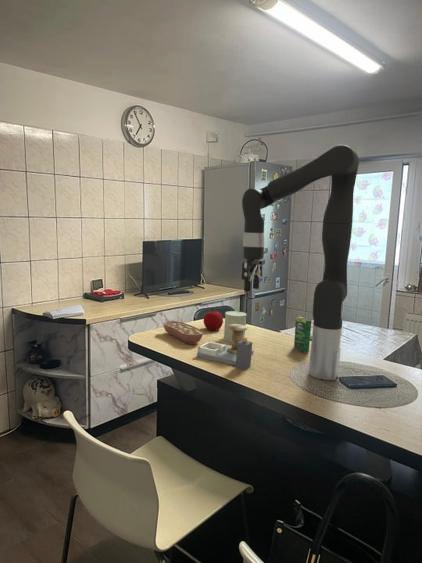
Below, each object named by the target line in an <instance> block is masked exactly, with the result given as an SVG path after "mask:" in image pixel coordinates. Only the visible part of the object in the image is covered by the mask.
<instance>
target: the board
mask: <svg viewBox="0 0 422 563" xmlns="http://www.w3.org/2000/svg"><path fill="white" fill-rule="evenodd" d="M230 346H232V344H231V345H229V344H226V343H220V342H213V341H207V342H206V343H204V344H201V345H199V346H198V347H197V352H196V357H197V358H201V359H205V360H209V361H214V362H219V363H224V364H228V365H232V366H236V354H234V353H230V352H228V351H227V348H228V347H230ZM253 355H254V349H252V353H251V356H253Z"/></svg>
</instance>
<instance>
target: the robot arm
mask: <svg viewBox="0 0 422 563" xmlns="http://www.w3.org/2000/svg"><path fill="white" fill-rule="evenodd" d="M359 161H360V159H359V156H358V153H357V152H356V151H355V150H354V149H353V148H352V147H350V146H348V145H345V144H338V145H335V146H333V147H332V148H330V149H328V150H327V151H325V152H324V153H322V154H320V155H319V156H318V157H316V158H314V159H313V160H311V161H309V162H308V163H306V164H305V165H303V166H301V167H299V168H296V169H295V170H293V171H290V172H288V173H286V174H283V175H281V176H279V177H277V178H275V179H272V180H270V181H269V182H268V184H267V185H266V186H264V187H262V188H259V189H258V188H253V187H251V188H248V189H247V190H245V191H244V193H243V195H242V200H241V204H242V205H241V206H242V212H243V213H242V214H243V218H244V229H243V230H244V231H243V239H242V240H243V242H242V258H243V259H246V262H244V261H243V262H242V264H241V265H242V266H241V269H242V270H241V280H243V282H244V284H243V285H244V287H243V291H244V292H251V289H254V290H257V289H258V290H259V289H260V279H261V277H263V263H264V262H263V260H262V259H264V257H265V256H264V255H265V219H264V217H263V216H262V215H261V212H262V211H261V210H263V209H265V208H267V207H269V206H271V205H272V204H274V203H276V202H277V201H279V200H282V199H285V198H287V197H289V196H291V195H292V196H293V194H296V193H298V192H300V191H301V190H303V189H304V188H305V187H307V186H308V185H310V184H312V183H314V182H316V181H318V180H321V179H323V178H327V177H330V178H331V186H330V187H331V188H330V194H329V197H328V202H327V204H326V207H325V210H324V214H323V219H322V227H321V228H322V229H321V243H322V250H323V256H324V271H323V277H322V280H321V281H319V282H318V284H316V287H315V288H314V293H313V304H312V317H313V318H312V320H313V325H312V333H311V334H312V336H311V342H310V344H311V346H310V353H309V354H310V355H309V363H308V364H309V366H308V375H309V376H311V377H312V378H315V379H317V380H321V379H323V381H333V380H335V381H336V380H337V378H338V375H339V368H340V359H341V358H340V357H341V348H340V346H341V338H342V328H343V319H342V310H343V302H344V301H345V300H346V298H347V295H348V262H349V261H348V260H349V254H350V247H351V242H352V240H351V239H352V232H353V217H354V216H353V215H354V193H355V186H356V179H357V175H358V170H359V166H360V165H359V164H360V162H359ZM252 279H253V280H252ZM251 287H252V288H251ZM336 377H337V378H336Z"/></svg>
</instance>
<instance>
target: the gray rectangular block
mask: <svg viewBox="0 0 422 563" xmlns="http://www.w3.org/2000/svg"><path fill="white" fill-rule="evenodd" d="M252 350H253V341H250V340H249V341H248V337H246V336H245V337H243V340H241V341H239V342H237V352H236V365H235V369H238V370H244V371H247V370H248V369H250V368H251V364H252V355H251V353H252Z"/></svg>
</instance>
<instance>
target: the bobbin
mask: <svg viewBox="0 0 422 563" xmlns="http://www.w3.org/2000/svg"><path fill="white" fill-rule="evenodd" d="M229 329H231V330H233V331H232V343H231V346H230V347H228V348H227V351H228V352H230V353H234V354H236V352H237V342H239V341H241V340H243V331H245V332H246V331H247V330H248V326H247V325H246V326H245V325H241V324H231V325H229Z"/></svg>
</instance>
